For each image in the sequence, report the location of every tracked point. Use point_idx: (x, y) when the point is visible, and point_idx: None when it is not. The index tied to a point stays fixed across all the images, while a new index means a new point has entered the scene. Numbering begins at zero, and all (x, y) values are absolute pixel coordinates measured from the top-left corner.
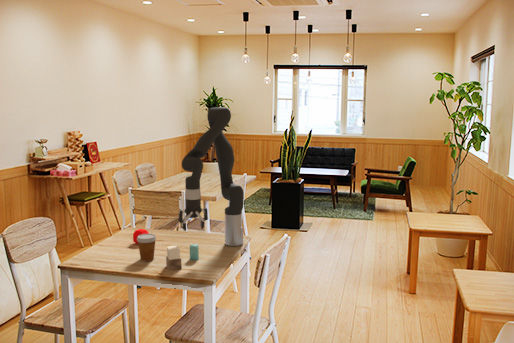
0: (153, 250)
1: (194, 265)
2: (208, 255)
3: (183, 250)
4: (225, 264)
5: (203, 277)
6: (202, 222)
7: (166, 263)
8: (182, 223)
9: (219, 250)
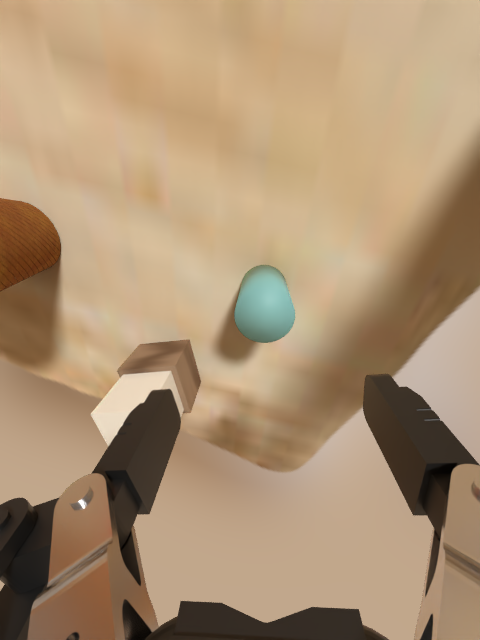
0: (21, 269)
1: (253, 363)
2: (350, 248)
3: (213, 99)
4: None
5: (268, 458)
6: (423, 503)
7: (134, 352)
8: (94, 470)
9: (456, 159)
